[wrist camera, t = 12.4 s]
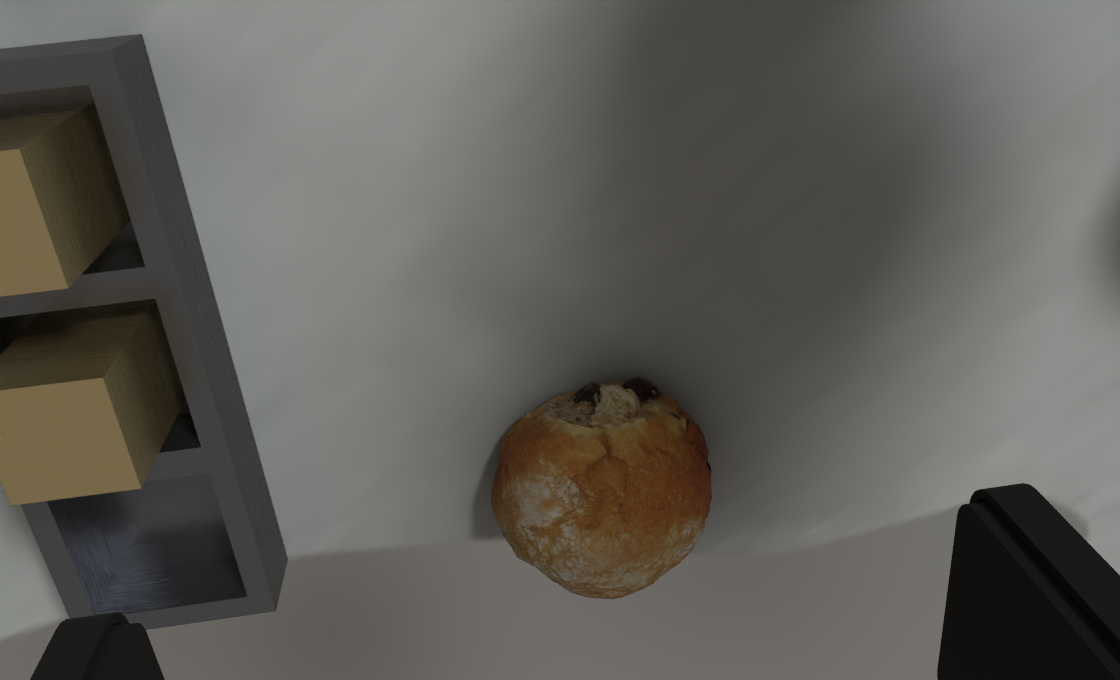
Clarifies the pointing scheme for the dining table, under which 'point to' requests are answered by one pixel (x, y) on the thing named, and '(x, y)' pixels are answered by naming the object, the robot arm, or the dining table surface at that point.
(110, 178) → the khaki cardboard box
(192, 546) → the grey compartment tray
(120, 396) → the tan cubic block
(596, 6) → the dining table surface
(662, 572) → the bread roll
